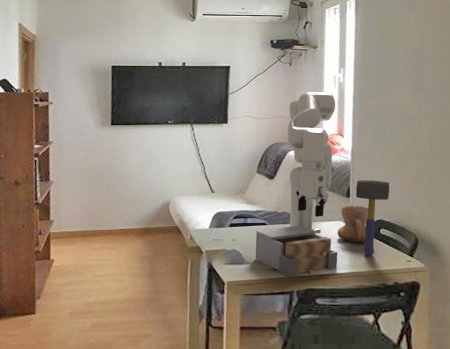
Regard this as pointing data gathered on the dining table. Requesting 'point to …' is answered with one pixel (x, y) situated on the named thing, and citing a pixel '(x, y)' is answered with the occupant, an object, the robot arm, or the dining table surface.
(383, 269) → the dining table surface
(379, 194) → the rubber mallet
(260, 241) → the cabinet
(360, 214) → the ceramic jug
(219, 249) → the dining table surface
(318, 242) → the tan wooden plank
